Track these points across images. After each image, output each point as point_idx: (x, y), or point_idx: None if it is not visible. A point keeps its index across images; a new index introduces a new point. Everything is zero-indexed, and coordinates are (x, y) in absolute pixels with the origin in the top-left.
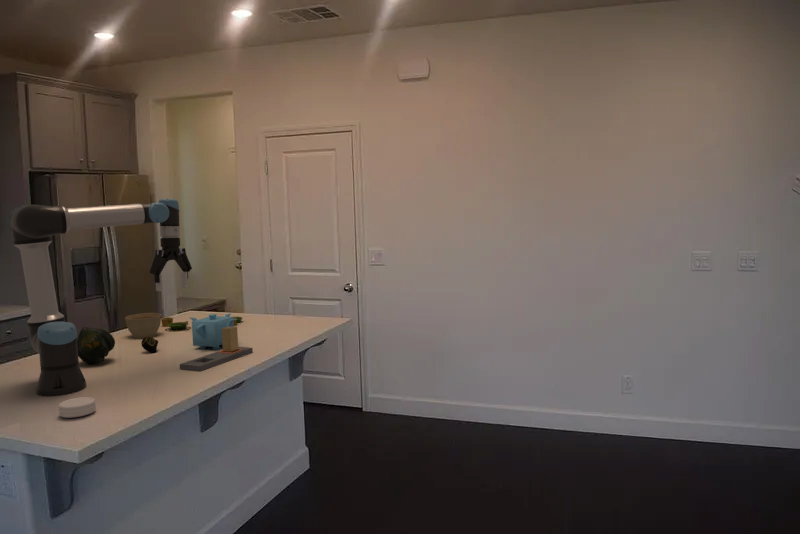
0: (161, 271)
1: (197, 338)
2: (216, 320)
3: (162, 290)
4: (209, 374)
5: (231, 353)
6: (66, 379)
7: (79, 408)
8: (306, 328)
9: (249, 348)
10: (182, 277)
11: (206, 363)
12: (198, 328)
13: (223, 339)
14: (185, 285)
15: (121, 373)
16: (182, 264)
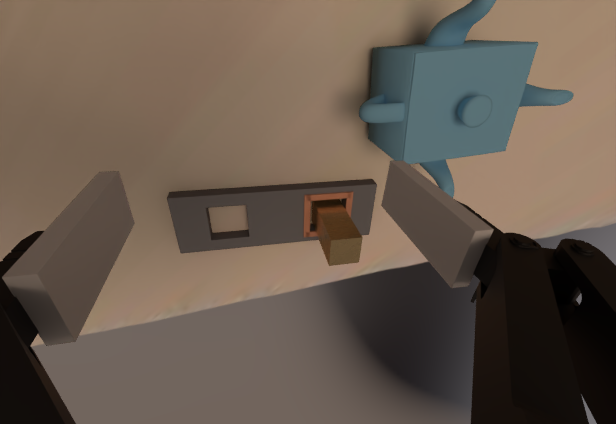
0: (50, 382)
1: (381, 72)
2: (437, 144)
3: (131, 226)
4: (175, 276)
5: (303, 235)
6: None
7: None
8: (609, 179)
9: (361, 233)
10: (430, 214)
11: (206, 248)
12: (363, 120)
13: (322, 225)
14: (390, 204)
15: (22, 59)
16: (476, 374)
